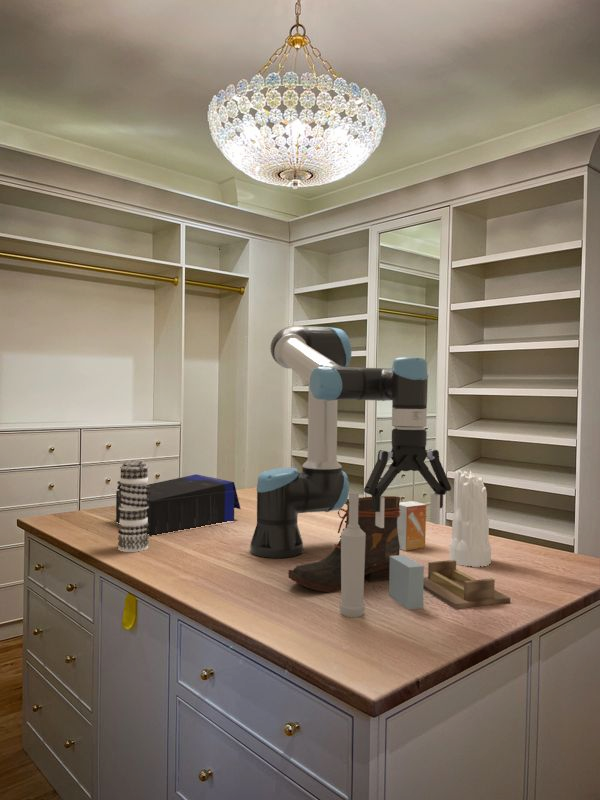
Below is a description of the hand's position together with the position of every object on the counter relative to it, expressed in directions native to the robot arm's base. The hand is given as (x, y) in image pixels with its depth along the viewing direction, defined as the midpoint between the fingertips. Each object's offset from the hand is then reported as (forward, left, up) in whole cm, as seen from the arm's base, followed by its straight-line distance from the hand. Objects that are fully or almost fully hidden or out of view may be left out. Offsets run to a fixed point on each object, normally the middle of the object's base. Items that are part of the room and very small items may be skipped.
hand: (407, 525), depth 130 cm
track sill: (+15, +2, -17) cm, 22 cm away
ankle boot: (-8, +17, -17) cm, 25 cm away
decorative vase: (+32, +23, -17) cm, 43 cm away
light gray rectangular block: (0, 0, -17) cm, 17 cm away
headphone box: (-39, +92, -17) cm, 102 cm away
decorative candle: (-55, +61, -17) cm, 84 cm away
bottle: (-14, -3, -17) cm, 22 cm away
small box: (+23, +41, -17) cm, 50 cm away
